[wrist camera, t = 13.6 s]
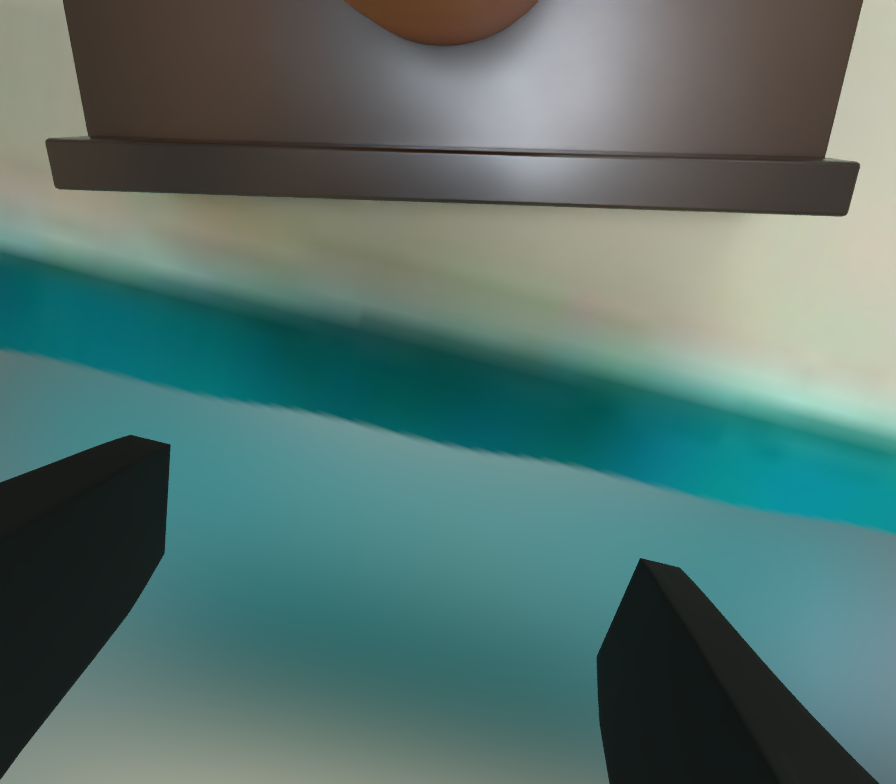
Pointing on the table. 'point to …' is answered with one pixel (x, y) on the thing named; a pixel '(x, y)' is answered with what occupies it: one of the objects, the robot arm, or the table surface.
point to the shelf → (466, 105)
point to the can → (443, 18)
